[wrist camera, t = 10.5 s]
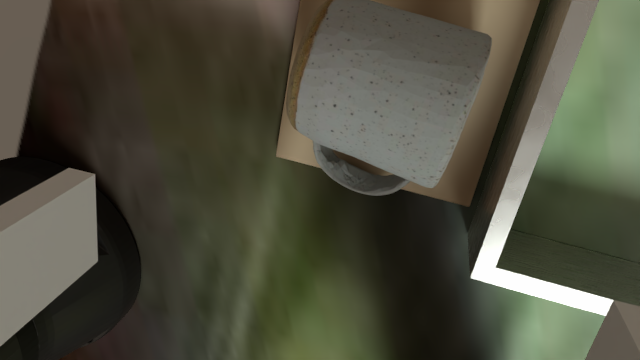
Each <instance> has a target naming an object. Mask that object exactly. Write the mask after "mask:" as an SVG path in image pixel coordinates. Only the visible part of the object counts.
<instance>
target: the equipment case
mask: <svg viewBox="0 0 640 360" xmlns="http://www.w3.org/2000/svg"><path fill="white" fill-rule="evenodd" d="M598 2H599V0H549V1H548V4H547V7H546V10H545V13H544V16H543V18H542V21H541V24H540V27H539V30H538V33H537V36H536V38H535V41H534V44H533V47H532V50H531V53H530V56H529V59H528V61H527V64H526V67H525V70H524V73H523V76H522V79H521V82H520V84H519V87H518V90H517V93H516V96H515V99H514V102H513V104H512V107H511V110H510V113H509V116H508V119H507V122H506V125H505V127H504V130H503V133H502V136H501V139H500V142H499V145H498V147H497V150H496V153H495V156H494V159H493V162H492V165H491V168H490V170H489V173H488V176H487V179H486V182H485V185H484V188H483V191H482V193H481V196H480V199H479V202H478V205H477V208H476V211H475V213H474V216H473V219H472V222H471V225H470V228H469V231H468V249H469V265H470V278H472V279H476V280H479V281H483V282H487V283H490V284H494V285H497V286H501V287H504V288H508V289H512V290H515V291H519V292H522V293H526V294H529V295H533V296H537V297H540V298H544V299H547V300H551V301H554V302H558V303H562V304H565V305H569V306H572V307H576V308H580V309H583V310H587V311H590V312H594V313H597V314H601V315H605V316H606V315H607V313H608V311H609V308H610V306H611V304H612V302H613V300H615V301H619V302H624V303H628V304H632V305H636V306H640V263H636V262H632V261H628V260H625V259H621V258H617V257H613V256H609V255H606V254H602V253H598V252H594V251H591V250H587V249H583V248H579V247H575V246H572V245H568V244H564V243H560V242H556V241H553V240H549V239H545V238H541V237H538V236H534V235H530V234H526V233H522V232H519V231H515V230H511V226H512V224H513V221H514V218H515V216H516V213H517V211H518V208H519V206H520V203H521V200H522V198H523V195H524V193H525V190H526V187H527V185H528V182H529V180H530V177H531V175H532V172H533V169H534V167H535V164H536V162H537V159H538V157H539V154H540V151H541V149H542V146H543V144H544V141H545V138H546V136H547V133H548V131H549V128H550V126H551V123H552V120H553V118H554V115H555V113H556V110H557V107H558V105H559V102H560V100H561V97H562V95H563V92H564V89H565V87H566V84H567V82H568V79H569V77H570V74H571V71H572V69H573V66H574V64H575V61H576V58H577V56H578V53H579V51H580V48H581V46H582V43H583V40H584V38H585V35H586V33H587V30H588V28H589V25H590V22H591V20H592V17H593V15H594V12H595V9H596V7H597V4H598Z"/></svg>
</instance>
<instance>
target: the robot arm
mask: <svg viewBox="0 0 640 360" xmlns="http://www.w3.org/2000/svg"><path fill="white" fill-rule="evenodd" d="M140 279H141V269H140V260H139V255H138V251H137V248H136V245H135V242H134V239H133V237H132V235H131V232H130V230H129V228H128V227H127V225H126V223H125V221H124V220H123V218H122V217H121V215H120V214H119V212H118V211H117V210H116V208H115V207H114V206H113V204H112V203H111V202H110V201H109V200H108V199H107V198H106V197H105V196H104V195H103V194H102V193H101V192H100V191H99V190H98V189H97V188H96V185H95V174H93V173H89V172H84V171H80V170H76V169H72V168H68V169H67V168H65V167H63V166H61V165H59V164H56V163H53V162H50V161H47V160H43V159H38V158H32V157H13V158H8V159H4V160H0V360H58V359H60V358H62V357H64V356H65V355H67V354H69V353H71V352H72V351H74V350H76V349H78V348H80V347H83V346H86V345H88V344H90V343H93V342H95V341H97V340H99V339H100V338H102V337H103V336H104V335H106V334H107V333H108V332H109V331H111V330H112V328H113V327H114V326H115V325H116V324H117V323H118V322H119V321H120V320H121V319H122V318H123V317H124V316H125V315H126V313H127V312H128V311H129V310H130V309H131V307H132V305H133V304H134V302H135V300H136V297H137V295H138V291H139V287H140ZM585 360H640V306H636V305H632V304H628V303H624V302H619V301H615V300H613V302H612V304H611V306H610V308H609V311H608V313H607V315H606V317H605V319H604V321H603V323H602V325H601V327H600V329H599V332H598V334H597V336H596V338H595V340H594V342H593V344H592V346H591V348H590V350H589V353H588V355H587V357H586V359H585Z"/></svg>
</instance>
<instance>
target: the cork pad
mask: <svg viewBox="0 0 640 360" xmlns="http://www.w3.org/2000/svg"><path fill="white" fill-rule="evenodd" d="M325 1H327V0H300V5H299V11H298V18H297V24H296V30H295V37H294V43H293V50H292V56H291V63H290V69H289V75H288V82H287V88H286V95H285V101H284V108H283V114H282V120H281V127H280V133H279V140H278V146H277V153H276V157H280V158H284V159H288V160H292V161H295V162H299V163H303V164H307V165H311V166H315V167H318V168H321V167H320V165H319V164H318V162H317V160H316V158H315V154H314V150H313V140H311V139H309V138H308V137H306V136H304V135H303V134H301V133H300V132H298V131H297V130H295V129H294V128H293V126H292V125H291V123H290V121H289V118H288V116H287V110H286V99H287V91H288V84H289V79H290V74H291V70H292V66H293V63H294V59H295V56H296V53H297V50H298V47H299V44H300V42H301V39H302V37H303V34H304V32H305V30H306V28H307V25H308V23H309V21H310V19H311V18H312V16H313V15H314V13H315V12H316V10H317V9H318V8H319V7H320V6H321V5H322V4H323V3H324V2H325ZM371 1H375V2H378V3H381V4H384V5H388V6H391V7H394V8H398V9H401V10H404V11H408V12H411V13H415V14H419V15H423V16H427V17H430V18H433V19H437V20H440V21H444V22H447V23H450V24H454V25H457V26H460V27H464V28H467V29H471V30H475V31H478V32H482V33H485V34H488V35H489V36H490V37H491V38H492V46H491V51H490V56H489V59H488V63H487V65H486V67H485V71H484V75H483V79H482V82H481V85H480V88H479V91H478V93H477V96H476V98H475V100H474V103H473V105H472V108H471V110H470V112H469V115H468V117H467V120H466V122H465V125H464V128H463V130H462V132H461V134H460V138H459V140H458V142H457V144H456V147H455V149H454V152H453V154H452V157H451V159H450V161H449V163H448V165H447V167H446V169H445V171H444V173H443V175H442V177H441V179H440V180H439V182H438V183H437V185H436V186H435V187H433V188H427V187H424V186H421V185H419V184H416V183H414V182H412V181H410V182H409V183H408V184H407V185H406V186H404V187H403V188H401V189H403V190H406V191H410V192H414V193H418V194H422V195H426V196H429V197H433V198H437V199H441V200H445V201H449V202H452V203H456V204H460V205H464V206H468V207H470V204H471V201H472V198H473V195H474V192H475V189H476V186H477V183H478V180H479V178H480V175H481V172H482V169H483V166H484V163H485V160H486V157H487V154H488V151H489V148H490V145H491V142H492V140H493V137H494V134H495V131H496V128H497V125H498V122H499V119H500V116H501V113H502V110H503V107H504V104H505V102H506V99H507V96H508V93H509V90H510V87H511V84H512V81H513V78H514V75H515V72H516V69H517V66H518V63H519V61H520V58H521V55H522V52H523V49H524V46H525V43H526V40H527V37H528V34H529V31H530V28H531V25H532V23H533V20H534V17H535V14H536V11H537V8H538V5H539V2H540V0H371ZM332 150H333V149H332ZM333 152H334V153H335V154H336V155H337V157H338V158H340V159H342V160H345V161H346V162H347V163H349V164H351V165H353V166H355V167H357V168H359V169H361V170H364V171H366V172H368V173H371V174H374V175H381V176H388V175H393V174H392V173H389V172H387V171H385V170H382V169H380V168H378V167H376V166H373V165H371V164H369V163H367V162H364V161H362V160H360V159H357V158H355V157H353V156H350V155H347V154H345V153H342V152H339V151H336V150H333Z"/></svg>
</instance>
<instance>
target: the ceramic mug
mask: <svg viewBox="0 0 640 360" xmlns="http://www.w3.org/2000/svg"><path fill="white" fill-rule="evenodd" d="M491 46H492V38H491V37H490V36H489V35H488V34H485V33H482V32H478V31H475V30H471V29H467V28H464V27H460V26H457V25H454V24H450V23H447V22H444V21H440V20H437V19H433V18H430V17H427V16H423V15H419V14H415V13H411V12H408V11H404V10H401V9H398V8H394V7H391V6H388V5H384V4H381V3H378V2H375V1H371V0H327V1H325V2H324V3H323V4H322V5H321V6H320V7H319V8H318V9H317V10H316V12H315V13H314V15H313V16H312V18H311V19H310V21H309V23H308V25H307V28H306V30H305V32H304V34H303V37H302V39H301V42H300V44H299V47H298V50H297V53H296V56H295V59H294V63H293V66H292V70H291V74H290V79H289V84H288V91H287V99H286V110H287V116H288V118H289V121H290V123H291V125H292V126H293V128H294V129H295V130H297V131H298V132H300V133H301V134H303V135H304V136H306V137H308V138H309V139H311V140H313V150H314V154H315V158H316V160H317V162H318V164H319V165H320V167H321V168H322V169H323V171H324V172H325V173H326V174H327V175H328V176H329V177H331V178H332V179H333V180H335V181H336V182H338V183H339V184H341V185H343V186H344V187H346V188H348V189H351V190H353V191H355V192H358V193H362V194H366V195H373V196H382V195H387V194H391V193H394V192H396V191H398V190H400V189H401V188H403V187H404V186H406V185H407V184H408V183H409V182H410V181H412V182H414V183H416V184H419V185H421V186H424V187H427V188H433V187H435V186H436V185H437V183H438V182H439V180H440V179H441V177H442V175H443V173H444V171H445V169H446V167H447V165H448V163H449V161H450V159H451V157H452V154H453V152H454V149H455V147H456V144H457V142H458V140H459V138H460V134H461V132H462V130H463V128H464V125H465V122H466V120H467V117H468V115H469V112H470V110H471V108H472V105H473V103H474V100H475V98H476V96H477V93H478V91H479V88H480V85H481V82H482V79H483V75H484V71H485V67H486V65H487V63H488V59H489V56H490V51H491ZM332 149H333V150H336V151H339V152H342V153H345V154H347V155H350V156H353V157H355V158H357V159H360V160H362V161H364V162H367V163H369V164H371V165H373V166H376V167H378V168H380V169H382V170H385V171H387V172H389V173H392V174H393V175H388V176H381V175H374V174H371V173H368V172H366V171H364V170H361V169H359V168H357V167H355V166H353V165H351V164H349V163H347V162H346V161H345V160H342V159H340V158H338V157H337V155H336V154H335V153H334V152H333V150H332Z"/></svg>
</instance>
